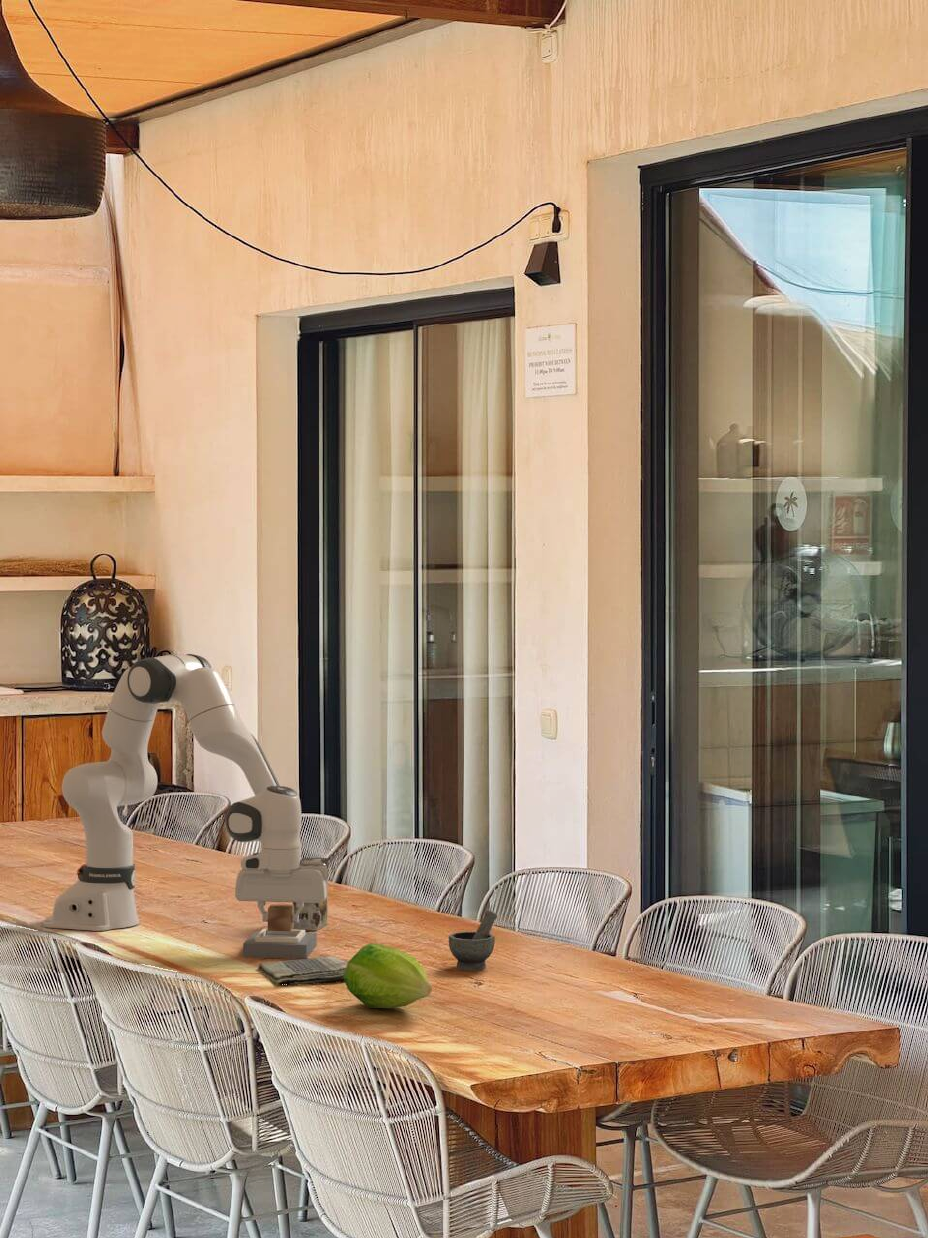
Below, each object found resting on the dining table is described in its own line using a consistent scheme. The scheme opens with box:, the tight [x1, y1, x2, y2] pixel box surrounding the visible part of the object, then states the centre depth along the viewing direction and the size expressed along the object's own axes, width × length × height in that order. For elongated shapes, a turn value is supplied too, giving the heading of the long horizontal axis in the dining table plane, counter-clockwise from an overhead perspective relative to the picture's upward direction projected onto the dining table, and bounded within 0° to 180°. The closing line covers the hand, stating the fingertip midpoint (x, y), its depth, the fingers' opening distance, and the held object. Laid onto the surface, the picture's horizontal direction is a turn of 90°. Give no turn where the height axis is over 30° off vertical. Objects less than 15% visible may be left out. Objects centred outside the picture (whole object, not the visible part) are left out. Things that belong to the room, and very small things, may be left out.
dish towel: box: [258, 956, 348, 987], centre depth 378 cm, size 19×18×3 cm
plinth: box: [242, 928, 318, 960], centre depth 401 cm, size 14×14×4 cm
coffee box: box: [292, 857, 329, 932], centre depth 430 cm, size 9×6×16 cm
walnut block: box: [267, 903, 294, 931], centre depth 401 cm, size 5×5×5 cm
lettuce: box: [344, 942, 433, 1009], centre depth 347 cm, size 14×20×12 cm
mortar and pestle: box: [448, 909, 498, 972], centre depth 387 cm, size 11×9×12 cm
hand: (280, 921), depth 401 cm, fingers closed on walnut block, 5 cm apart
